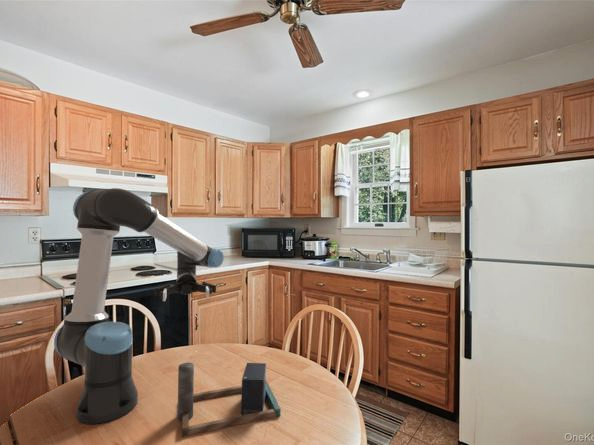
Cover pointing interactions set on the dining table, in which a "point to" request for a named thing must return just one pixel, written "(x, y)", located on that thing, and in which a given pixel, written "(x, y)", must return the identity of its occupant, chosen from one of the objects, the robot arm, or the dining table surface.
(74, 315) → the robot arm
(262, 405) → the small box
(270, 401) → the post and rail frame
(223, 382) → the dining table surface
